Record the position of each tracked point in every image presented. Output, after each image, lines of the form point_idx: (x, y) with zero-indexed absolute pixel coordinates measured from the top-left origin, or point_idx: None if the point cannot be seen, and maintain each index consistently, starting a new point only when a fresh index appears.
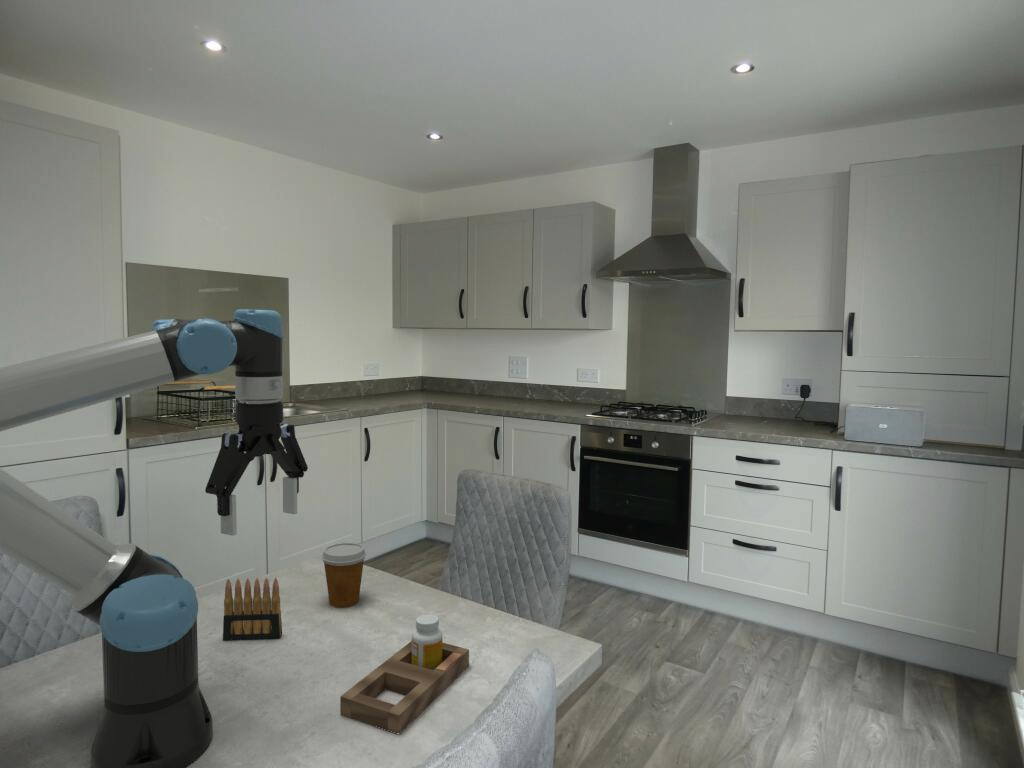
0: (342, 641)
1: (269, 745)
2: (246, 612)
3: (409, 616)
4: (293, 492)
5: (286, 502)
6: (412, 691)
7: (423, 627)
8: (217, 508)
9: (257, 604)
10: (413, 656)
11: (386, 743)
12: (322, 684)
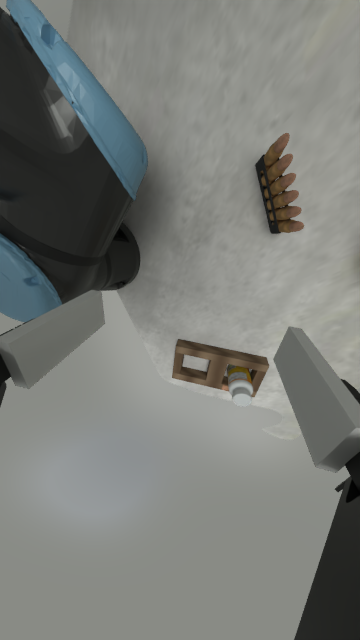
0: (275, 297)
1: (140, 316)
2: (270, 189)
3: (339, 334)
4: (294, 408)
5: (294, 356)
6: (195, 378)
7: (232, 397)
8: (20, 325)
9: (277, 204)
10: (230, 373)
11: (166, 366)
12: (204, 314)
